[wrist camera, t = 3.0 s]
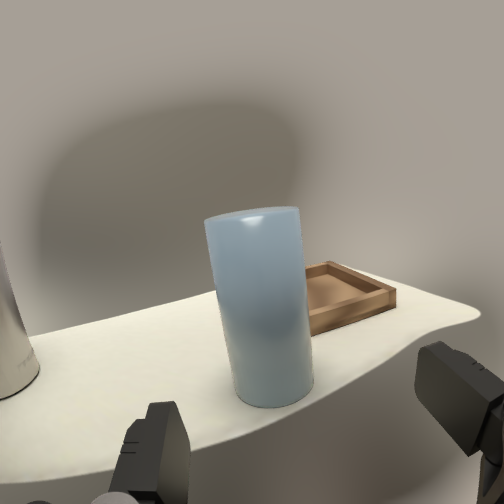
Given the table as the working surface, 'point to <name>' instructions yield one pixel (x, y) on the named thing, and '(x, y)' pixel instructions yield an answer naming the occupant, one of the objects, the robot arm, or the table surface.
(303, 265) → the pale blue cylinder
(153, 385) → the table surface
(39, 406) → the table surface
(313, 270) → the tray
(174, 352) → the table surface
